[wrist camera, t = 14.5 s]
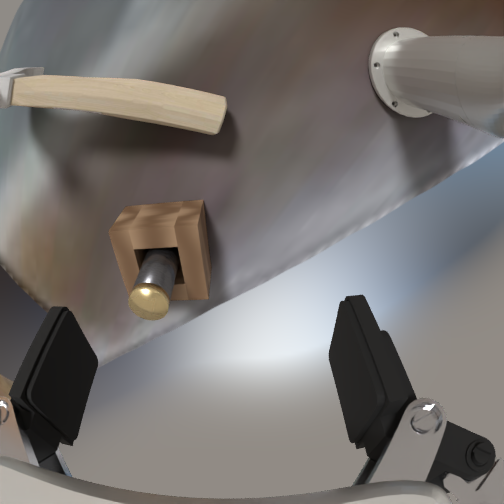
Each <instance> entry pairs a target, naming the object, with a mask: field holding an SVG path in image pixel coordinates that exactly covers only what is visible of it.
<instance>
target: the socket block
mask: <svg viewBox="0 0 504 504" xmlns="http://www.w3.org/2000/svg"><path fill="white" fill-rule="evenodd" d="M108 232H109V235H110V239H111V242H112V246H113V249H114V252H115V256H116V259H117V262H118V265H119V268H120V271H121V274H122V277H123V280H124V283H125V286H126V289H127V292H128V295H129V297H130V294H131V291H132V289H133V286H134V284H135V281H136V278H137V276H138V273H139V271H140V268H141V266H142V263H143V261H144V259H145V256H146V254H147V251H148V249H149V248H165V247H178V251H179V256H180V262H179V266H178V270H177V274H176V278H175V282H174V286H173V290H172V295H171V299H170V301H172V300H202V299H209V290H210V279H211V269H212V267H211V260H210V252H209V244H208V236H207V228H206V219H205V211H204V202H203V200H194V201H181V202H169V203H158V204H147V205H137V206H127V207H125V208H124V210H123V211H122V213H121V214H120V215H119V217H118V218H117V220H116V221H115V223H114V224H113V226H112V227H111V229H110V230H109V231H108Z"/></svg>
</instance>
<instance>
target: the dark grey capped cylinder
mask: <svg viewBox="0 0 504 504" xmlns="http://www.w3.org/2000/svg"><path fill="white" fill-rule="evenodd" d="M179 262H180V256H179V251H178V247H165V248H149V249H148V251H147V254H146V256H145V259H144V261H143V263H142V266H141V268H140V271H139V273H138V276H137V278H136V281H135V284H134V286H133V289H132V291H131V294H130V297H129V300H128V303H129V306H130V308H131V310H132V311H133V312H134V313H135V314H136V315H137V316H139V317H141V318H143V319H147V320H159V319H161V318H163V317H164V316H165V315H166V314H167V312H168V308H169V303H170V299H171V295H172V290H173V286H174V282H175V278H176V274H177V270H178V266H179Z"/></svg>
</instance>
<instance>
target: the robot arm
mask: <svg viewBox="0 0 504 504" xmlns="http://www.w3.org/2000/svg"><path fill="white" fill-rule="evenodd" d="M393 34H394V35H393ZM374 64H375V65H376V67H374ZM368 67H369V75H370V79H371V82H372V85H373V87H374V89H375V91H376V93H377V95H378V96H379V98H380V99H381V100H382V101H383V102H384V103H385V104H386V105H387V106H388V107H389V108H390V109H392V110H393V111H395V112H397V113H399V114H401V115H404V116H407V117H413V118H419V117H425V116H428V115H430V114H432V113H435V114H438V115H441V116H444V117H447V118H449V119H452V120H455V121H458V122H460V123H463V124H465V125H468V126H471V127H473V128H475V129H478V130H480V131H482V132H485V133H487V134H490V135H492V136H495V137H498V138H504V37H495V36H432V37H429V36H427V35H426V34H424V33H422V32H421V31H418V30H415V29H412V28H395V29H391V30H389V31H387V32H385V33H383V34H382V35H381V36H379V38H378V39H377V40H376V41H375V43H374V44H373V47H372V49H371V52H370V56H369V66H368ZM392 102H393V104H392ZM329 361H330V365H331V369H332V373H333V377H334V380H335V384H336V388H337V392H338V396H339V400H340V404H341V408H342V412H343V416H344V420H345V424H346V428H347V432H348V437H349V440H350V442H351V443H355V445H356V449H359V448H364V447H365V449H366V453H367V456H368V457H369V458H368V460H367V461H366V463H365V465H364V467H363V468H362V470H361V472H360V473H359V475H358V477H357V478H356V480H355V482H354V483H353V485H352V486H351V487H345V488H339V489H333V490H327V491H321V492H315V493H307V494H299V495H289V496H279V497H266V498H245V499H208V498H188V497H176V496H165V495H157V494H150V493H142V492H136V491H130V490H125V489H119V488H114V487H109V486H105V485H100V484H96V483H92V482H88V481H84V480H80V479H76V478H73V477H72V475H71V473H70V471H69V469H68V467H67V465H66V463H65V461H64V459H63V457H62V454H61V452H60V450H59V447H58V446H59V442H61V443H62V444H66V445H70V446H73V441H74V440H75V439H76V438H77V436H78V433H79V429H80V425H81V421H82V417H83V413H84V410H85V406H86V403H87V399H88V396H89V392H90V389H91V386H92V383H93V379H94V376H95V373H96V370H97V367H98V359H97V356H96V355H95V353H94V351H93V350H92V348H91V346H90V344H89V343H88V341H87V339H86V337H85V335H84V334H83V332H82V330H81V328H80V326H79V324H78V323H77V321H76V319H75V317H74V315H73V313H72V312H71V311H69V309H68V308H67V307H54V306H53V307H52V308H51V309H50V310H49V312H48V314H47V316H46V318H45V319H44V321H43V323H42V325H41V327H40V329H39V331H38V333H37V334H36V336H35V339H34V340H33V342H32V344H31V346H30V348H29V350H28V352H27V354H26V357H25V359H24V361H23V363H22V365H21V367H20V369H19V372H18V374H17V376H16V378H15V381H14V383H13V385H12V388H11V390H10V392H9V395H10V396H11V400H9V399H8V398H6V397H1V396H0V504H452V501H451V499H450V498H449V496H448V495H447V493H450V492H451V493H452V494H453V495H454V496H455V497H456V498H457V502H458V503H459V504H504V460H503V459H501V458H500V459H496V458H495V457H496V455H495V449H494V447H493V444H492V443H491V442H490V441H489V440H487V439H486V438H484V437H482V436H480V435H477V434H475V433H473V432H471V431H468V430H466V429H464V428H462V427H460V426H457V425H455V424H453V423H451V422H449V421H447V417H446V413H445V411H444V408H443V407H442V406H441V405H440V404H439V403H438V402H436V401H434V400H432V399H428V398H420V399H417V398H416V395H415V393H414V390H413V388H412V386H411V383H410V381H409V379H408V376H407V374H406V371H405V369H404V367H403V365H402V362H401V360H400V358H399V356H398V353H397V351H396V348H395V346H394V344H393V342H392V340H391V337H390V336H389V334H388V333H387V332H386V331H384V330H383V331H380V329H379V326H378V324H377V322H376V320H375V318H374V315H373V313H372V311H371V309H370V307H369V305H368V303H367V301H366V299H365V297H364V296H363V295H355V296H346V298H345V301H341V302H340V304H339V309H338V314H337V319H336V323H335V328H334V332H333V337H332V341H331V345H330V350H329Z"/></svg>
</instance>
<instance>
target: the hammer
mask: <svg viewBox="0 0 504 504" xmlns="http://www.w3.org/2000/svg"><path fill="white" fill-rule="evenodd" d="M43 72H44V67H33V68H16V69H12V70H9V71H7V72H3V73H0V108H8V107H10V106H12V105H17V106H27V107H36V108H51V109H64V110H75V111H84V112H91V113H97V114H103V115H109V116H114V117H120V118H125V119H130V120H137V121H143V122H149V123H155V124H160V125H166V126H171V127H176V128H181V129H186V130H191V131H196V132H200V133H205V134H210V135H214V134H217V133H219V131H220V128H221V126H222V123H223V121H224V118H225V114H226V110H227V102H226V98H225V97H223V96H219V95H215V94H211V93H207V92H202V91H198V90H193V89H189V88H184V87H179V86H174V85H169V84H163V83H158V82H152V81H146V80H139V79H123V78H88V77H75V76H56V75H43Z"/></svg>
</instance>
